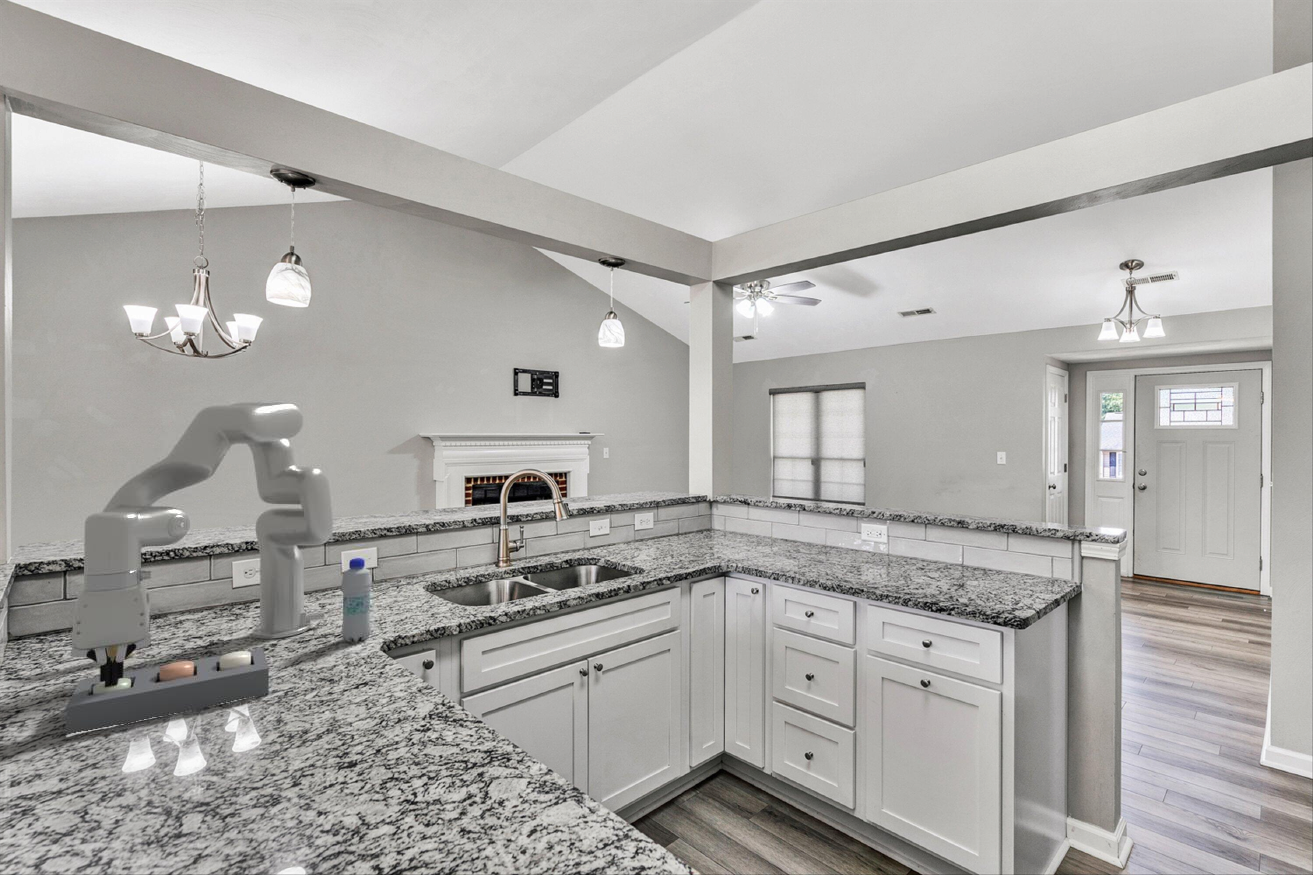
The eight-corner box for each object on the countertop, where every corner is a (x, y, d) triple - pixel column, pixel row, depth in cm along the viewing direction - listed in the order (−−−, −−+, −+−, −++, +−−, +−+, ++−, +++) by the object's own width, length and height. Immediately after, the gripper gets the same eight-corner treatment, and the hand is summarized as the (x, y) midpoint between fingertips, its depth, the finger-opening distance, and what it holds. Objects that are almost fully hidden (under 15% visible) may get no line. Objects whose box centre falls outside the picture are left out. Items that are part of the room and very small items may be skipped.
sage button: (132, 694, 110) (132, 675, 110) (129, 704, 106) (129, 684, 106) (95, 702, 107) (95, 682, 107) (90, 712, 103) (90, 691, 103)
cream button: (249, 666, 121) (250, 649, 121) (251, 674, 117) (251, 656, 117) (219, 672, 118) (219, 654, 118) (219, 680, 114) (220, 662, 114)
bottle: (377, 636, 149) (378, 556, 149) (356, 645, 143) (356, 561, 143) (356, 633, 151) (357, 554, 151) (334, 642, 145) (334, 559, 145)
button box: (262, 671, 126) (263, 648, 126) (268, 694, 115) (268, 668, 115) (79, 707, 109) (80, 679, 109) (65, 737, 98) (65, 707, 98)
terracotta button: (193, 677, 115) (193, 659, 115) (193, 685, 111) (193, 666, 111) (160, 683, 112) (160, 664, 112) (158, 692, 108) (158, 673, 108)
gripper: (167, 572, 114) (167, 668, 114) (58, 583, 105) (57, 687, 105) (165, 579, 108) (164, 680, 108) (49, 591, 99) (48, 702, 99)
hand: (111, 683), depth 106 cm, fingers closed
